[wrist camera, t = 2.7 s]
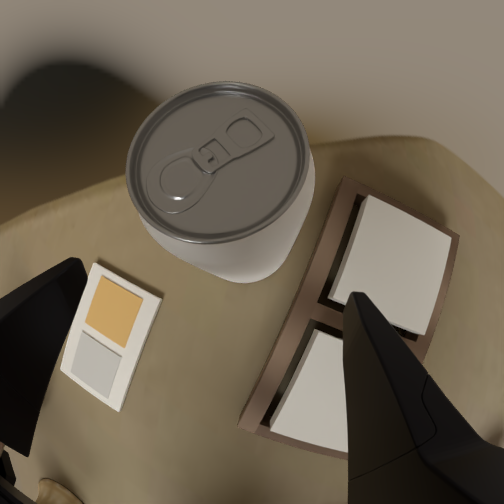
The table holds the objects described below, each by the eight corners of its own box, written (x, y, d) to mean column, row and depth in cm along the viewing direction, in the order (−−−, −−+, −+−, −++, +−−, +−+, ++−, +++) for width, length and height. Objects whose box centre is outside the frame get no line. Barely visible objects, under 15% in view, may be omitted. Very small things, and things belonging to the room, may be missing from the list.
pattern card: (121, 410, 18) (118, 412, 18) (62, 368, 19) (59, 369, 18) (162, 299, 19) (160, 299, 19) (96, 262, 20) (93, 262, 19)
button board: (360, 451, 17) (368, 463, 15) (239, 415, 18) (237, 426, 16) (446, 240, 19) (459, 235, 17) (337, 186, 20) (343, 175, 18)
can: (180, 229, 20) (87, 150, 8) (252, 175, 20) (236, 49, 9) (235, 303, 19) (186, 311, 7) (310, 243, 19) (369, 166, 8)
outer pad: (413, 332, 16) (424, 335, 15) (327, 298, 17) (332, 297, 15) (440, 242, 17) (451, 237, 15) (361, 202, 18) (369, 194, 16)
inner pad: (357, 446, 15) (364, 455, 13) (269, 420, 16) (269, 430, 14) (402, 361, 16) (412, 365, 14) (314, 328, 16) (318, 331, 15)
